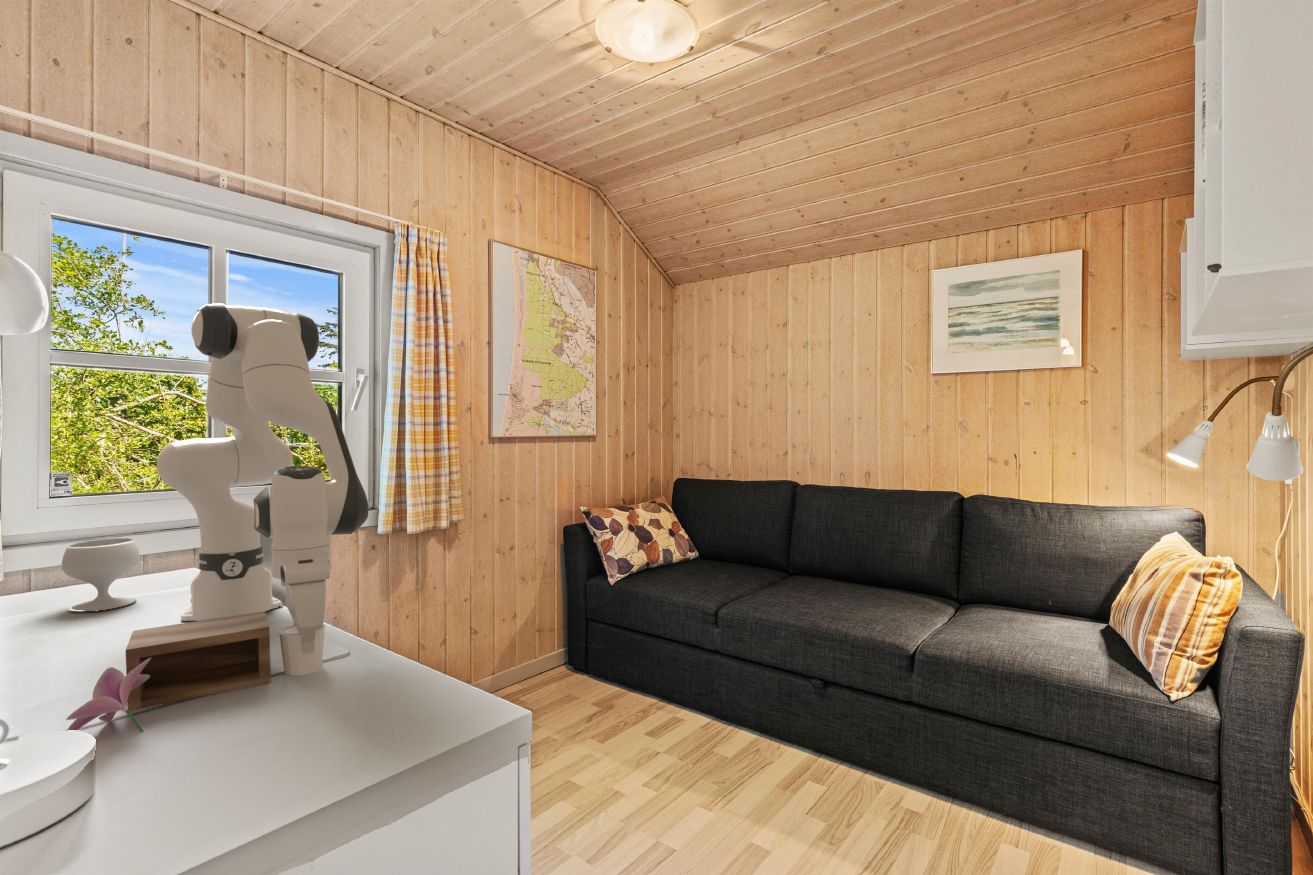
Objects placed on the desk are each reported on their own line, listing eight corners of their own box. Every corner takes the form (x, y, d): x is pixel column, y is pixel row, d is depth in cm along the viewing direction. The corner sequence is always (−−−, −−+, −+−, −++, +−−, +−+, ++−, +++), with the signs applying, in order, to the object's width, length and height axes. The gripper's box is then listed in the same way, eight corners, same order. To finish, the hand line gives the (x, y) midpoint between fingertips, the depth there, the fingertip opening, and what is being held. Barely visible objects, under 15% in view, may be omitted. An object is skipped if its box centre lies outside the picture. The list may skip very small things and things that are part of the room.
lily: (168, 712, 98) (131, 658, 97) (196, 698, 91) (157, 640, 91) (73, 773, 88) (31, 714, 87) (97, 762, 81) (52, 698, 81)
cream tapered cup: (306, 678, 107) (305, 635, 107) (270, 675, 109) (269, 633, 109) (335, 663, 114) (334, 622, 114) (300, 660, 115) (299, 621, 115)
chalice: (62, 606, 154) (60, 542, 154) (138, 595, 164) (136, 535, 163) (63, 618, 144) (61, 550, 144) (144, 606, 154) (142, 542, 153)
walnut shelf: (135, 686, 105) (133, 630, 105) (266, 662, 115) (264, 611, 115) (127, 711, 96) (125, 649, 96) (270, 682, 106) (269, 626, 106)
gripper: (275, 556, 118) (277, 633, 118) (286, 575, 101) (288, 665, 101) (314, 551, 121) (317, 626, 122) (331, 570, 104) (334, 656, 105)
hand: (304, 644), depth 111 cm, fingers open, 8 cm apart
